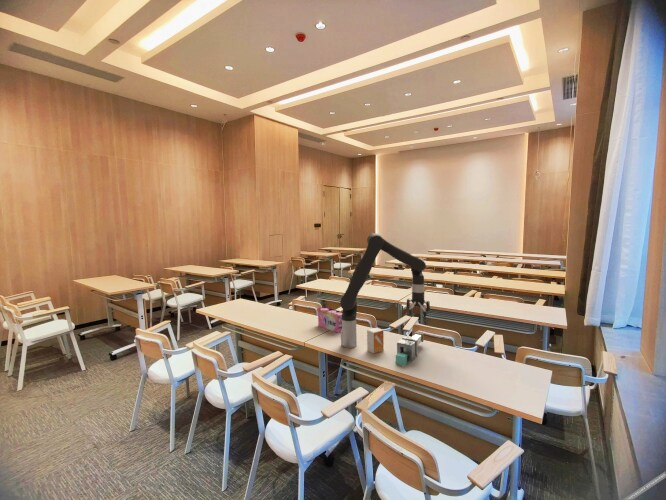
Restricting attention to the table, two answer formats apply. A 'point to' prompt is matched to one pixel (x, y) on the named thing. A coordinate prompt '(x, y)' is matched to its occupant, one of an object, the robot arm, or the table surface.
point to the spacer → (401, 359)
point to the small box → (375, 340)
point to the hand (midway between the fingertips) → (417, 316)
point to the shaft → (417, 336)
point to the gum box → (330, 319)
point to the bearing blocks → (410, 344)
